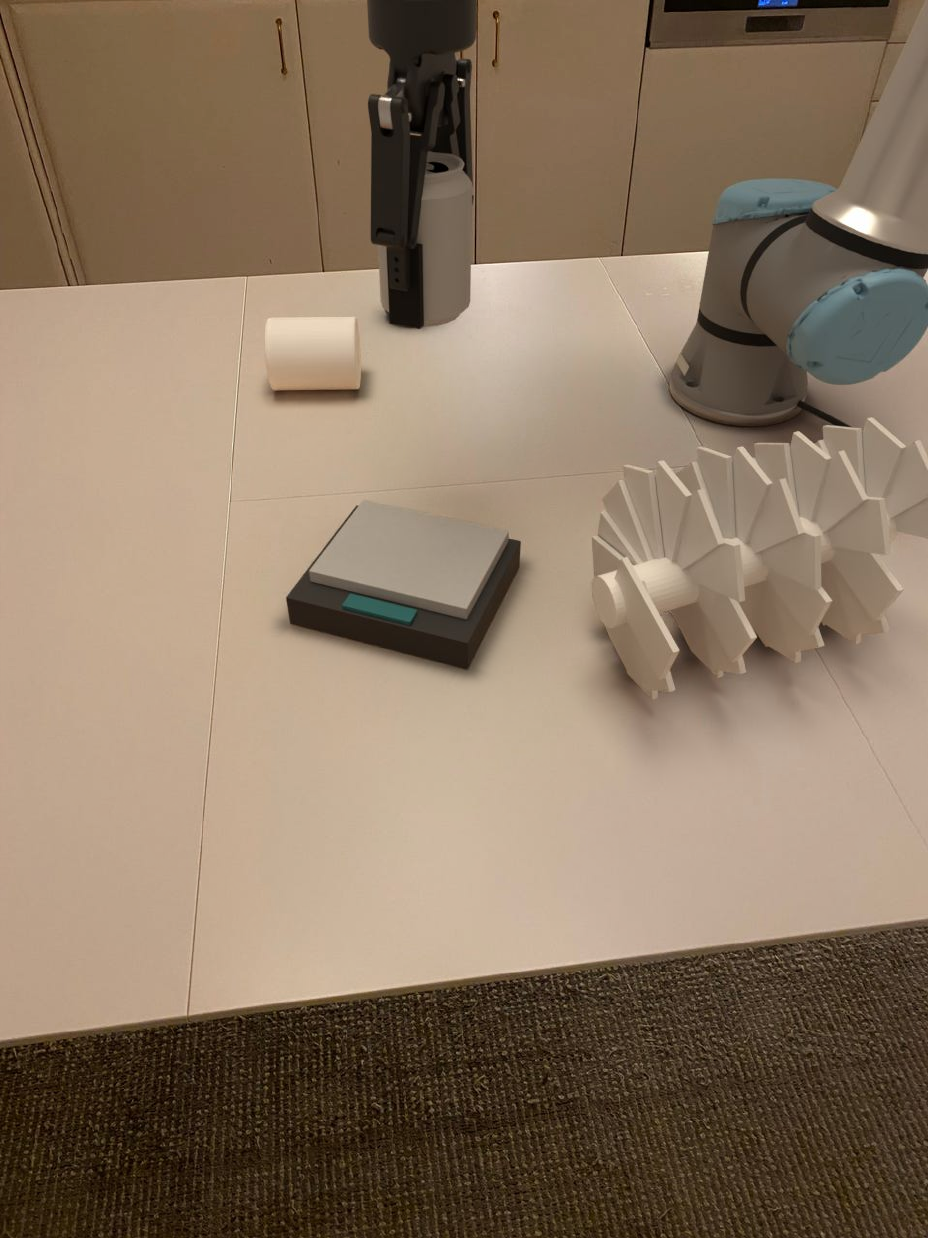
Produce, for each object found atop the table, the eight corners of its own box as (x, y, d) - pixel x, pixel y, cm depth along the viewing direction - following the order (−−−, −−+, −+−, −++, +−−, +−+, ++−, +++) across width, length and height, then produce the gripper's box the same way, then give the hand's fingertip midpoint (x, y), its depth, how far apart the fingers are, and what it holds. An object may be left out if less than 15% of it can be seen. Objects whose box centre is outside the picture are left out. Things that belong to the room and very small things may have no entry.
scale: (519, 567, 86) (521, 529, 83) (467, 670, 77) (468, 631, 74) (358, 530, 90) (355, 494, 87) (289, 624, 81) (283, 586, 78)
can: (483, 323, 79) (487, 169, 71) (396, 336, 77) (390, 179, 69) (452, 287, 84) (453, 140, 76) (370, 299, 82) (362, 149, 74)
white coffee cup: (358, 401, 108) (353, 335, 103) (270, 403, 108) (261, 337, 103) (363, 353, 117) (359, 290, 112) (282, 354, 117) (273, 291, 112)
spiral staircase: (572, 673, 82) (818, 595, 88) (676, 751, 66) (969, 648, 71) (536, 465, 76) (801, 396, 82) (640, 494, 60) (962, 405, 66)
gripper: (428, -46, 73) (432, 254, 88) (299, -1, 58) (330, 347, 74) (522, -39, 71) (508, 267, 86) (412, 9, 56) (419, 365, 72)
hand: (426, 304), depth 80 cm, fingers closed on can, 7 cm apart
